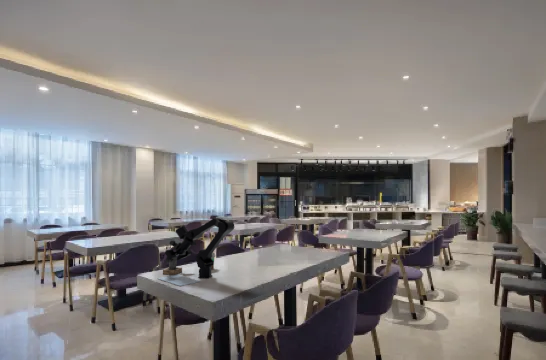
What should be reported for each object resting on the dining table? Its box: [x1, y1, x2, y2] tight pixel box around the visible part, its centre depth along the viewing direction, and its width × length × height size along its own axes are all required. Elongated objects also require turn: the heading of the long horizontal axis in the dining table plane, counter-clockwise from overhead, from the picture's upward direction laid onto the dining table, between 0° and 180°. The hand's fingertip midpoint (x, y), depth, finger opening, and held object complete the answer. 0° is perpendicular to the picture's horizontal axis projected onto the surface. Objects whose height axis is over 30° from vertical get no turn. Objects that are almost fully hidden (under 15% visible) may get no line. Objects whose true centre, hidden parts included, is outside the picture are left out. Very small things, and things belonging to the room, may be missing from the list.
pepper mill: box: [168, 255, 178, 270], centre depth 197 cm, size 4×4×12 cm
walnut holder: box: [162, 266, 183, 275], centre depth 197 cm, size 8×8×2 cm
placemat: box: [157, 274, 201, 287], centre depth 177 cm, size 24×13×1 cm, turn 48°
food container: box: [205, 252, 216, 270], centre depth 208 cm, size 12×6×10 cm, turn 168°
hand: (171, 261), depth 198 cm, fingers open, 9 cm apart
